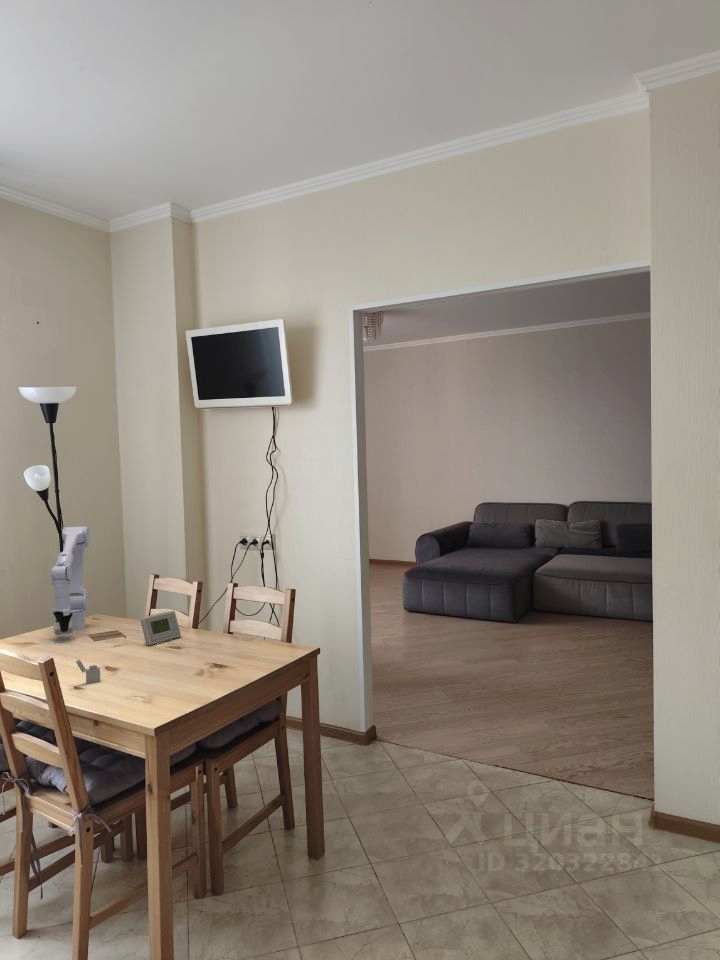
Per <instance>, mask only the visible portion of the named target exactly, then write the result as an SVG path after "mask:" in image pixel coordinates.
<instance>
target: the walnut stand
mask: <svg viewBox="0 0 720 960" xmlns="http://www.w3.org/2000/svg"><path fill="white" fill-rule="evenodd" d="M87 637H89V638H90V639H91V640H92V641H93V642H100V641H106V640H110V639H111V640H112V639H118V638H125V639H127V635H125V634H124V633H122V632H121V631H119V630H110V631H104V632H98V633H97V632H96V633H91V634H87Z"/></svg>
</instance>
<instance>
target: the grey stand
mask: <svg viewBox="0 0 720 960" xmlns="http://www.w3.org/2000/svg"><path fill="white" fill-rule="evenodd" d="M50 641H52V642H53V643H54V644H60V643H61V644H62V643H65V642H72V641H77V638H76V637H74V636H73V635H68V636H62V637H55V638H50Z"/></svg>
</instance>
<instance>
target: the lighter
mask: <svg viewBox="0 0 720 960" xmlns="http://www.w3.org/2000/svg"><path fill="white" fill-rule="evenodd" d="M75 663H76V665H77V667H78V668H79V670H80V671H81V673H82V674H83V673H85V683H86V684H87V683H89V684H93V683H92V682H94V683H98V682H97V681H100V682H101V668H100V667H99V666H98V665H96V664H94V665H93V664H92V665H89V666H88V667H89V668H86V667H85V666H84V664H83V662H82V661H81V659H80V658H78V659H77V660H76V661H75Z"/></svg>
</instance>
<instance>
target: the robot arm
mask: <svg viewBox="0 0 720 960" xmlns="http://www.w3.org/2000/svg"><path fill="white" fill-rule="evenodd" d="M61 531H62V532H61V536H62V537H61V538H62V540H63V543H64V545H63V550H62V551H61V552H60V553H58V556H57V560H56V562H55V565H54V566H52V567H51V569H50V579H51V585H52V586H53V604H54V607H52V608H50V610H51V611H53V613H52V614H53V615H54V617H55V619H56V620H59V623H60V628H61V631H62V632H67V631H68V627H69V622H70V619H71V620H72V631H73V632H76V631H82V630H85V629H86V610H87V609H88V608H89V606H90V598H89V592H88V590H87V589H86V588H84V587H83V572H84V558H85V551H86V550H85V549H86V548H87V547H89V544H90V536H91V533H90V529H89V527H88V526H87V525H86V526H85V525H84V526H64V527H63V528H62V530H61Z"/></svg>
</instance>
